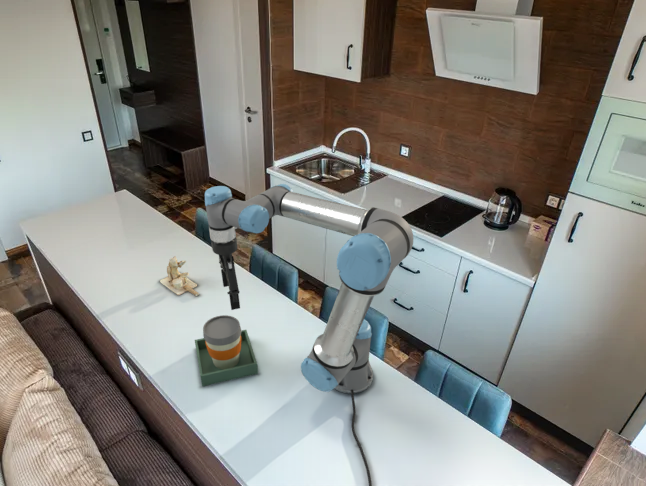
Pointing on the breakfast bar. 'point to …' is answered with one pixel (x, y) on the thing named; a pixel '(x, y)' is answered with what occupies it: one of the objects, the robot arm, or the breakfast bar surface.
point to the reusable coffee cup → (223, 340)
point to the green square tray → (242, 369)
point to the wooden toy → (178, 279)
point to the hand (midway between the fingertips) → (231, 296)
